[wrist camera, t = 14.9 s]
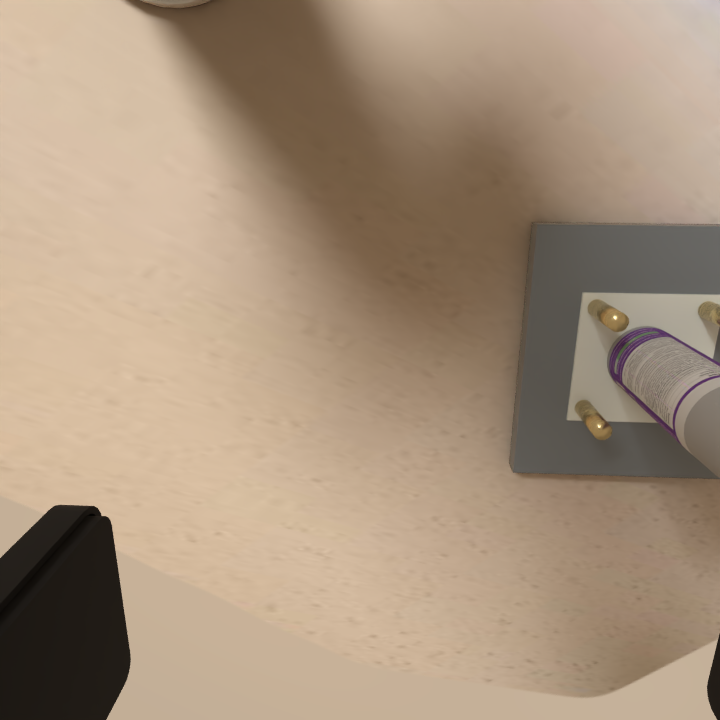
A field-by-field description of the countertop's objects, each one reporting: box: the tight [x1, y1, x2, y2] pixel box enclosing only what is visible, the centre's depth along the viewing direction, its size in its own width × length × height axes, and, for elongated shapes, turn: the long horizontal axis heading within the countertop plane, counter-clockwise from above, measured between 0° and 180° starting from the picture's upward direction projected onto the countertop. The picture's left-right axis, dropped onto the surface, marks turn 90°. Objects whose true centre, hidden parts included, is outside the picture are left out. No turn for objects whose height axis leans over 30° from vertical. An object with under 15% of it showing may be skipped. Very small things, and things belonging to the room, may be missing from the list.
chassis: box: [509, 222, 720, 479], centre depth 41 cm, size 18×16×2 cm
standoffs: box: [575, 299, 720, 440], centre depth 38 cm, size 8×8×4 cm
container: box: [607, 326, 720, 478], centre depth 33 cm, size 5×5×15 cm
